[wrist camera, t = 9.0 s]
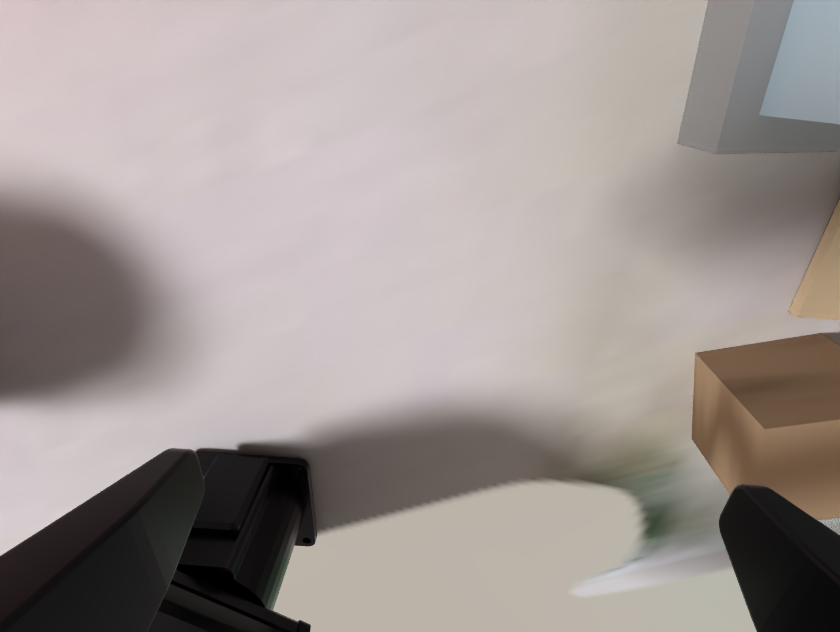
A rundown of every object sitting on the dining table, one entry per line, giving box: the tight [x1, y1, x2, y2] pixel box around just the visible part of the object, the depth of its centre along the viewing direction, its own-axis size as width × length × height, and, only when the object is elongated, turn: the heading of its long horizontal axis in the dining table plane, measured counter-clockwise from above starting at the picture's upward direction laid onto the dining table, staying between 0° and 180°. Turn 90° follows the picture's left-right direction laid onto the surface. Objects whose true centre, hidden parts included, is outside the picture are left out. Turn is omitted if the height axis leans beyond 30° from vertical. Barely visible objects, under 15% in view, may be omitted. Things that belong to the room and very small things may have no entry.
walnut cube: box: [692, 333, 840, 520], centre depth 19 cm, size 5×5×5 cm
